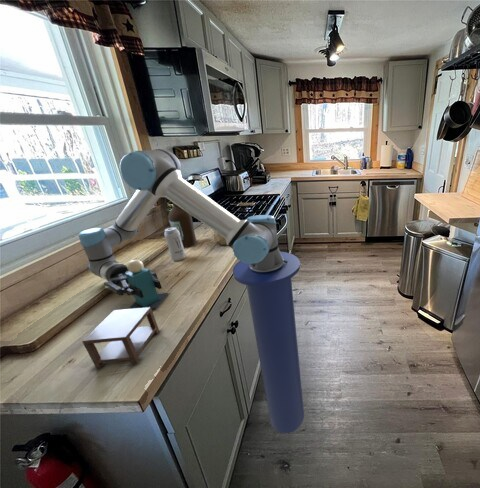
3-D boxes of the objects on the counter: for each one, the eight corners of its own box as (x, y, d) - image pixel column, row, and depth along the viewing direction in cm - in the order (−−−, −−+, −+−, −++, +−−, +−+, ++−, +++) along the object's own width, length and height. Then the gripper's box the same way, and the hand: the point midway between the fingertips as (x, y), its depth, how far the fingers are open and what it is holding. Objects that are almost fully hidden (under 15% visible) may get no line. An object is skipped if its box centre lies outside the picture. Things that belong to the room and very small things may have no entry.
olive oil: (187, 239, 146) (176, 195, 136) (202, 241, 143) (191, 196, 133) (171, 246, 137) (158, 200, 127) (186, 249, 134) (173, 201, 124)
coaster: (167, 294, 96) (167, 292, 96) (155, 309, 88) (155, 308, 87) (142, 296, 95) (141, 295, 95) (127, 311, 87) (127, 310, 87)
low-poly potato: (227, 249, 133) (243, 234, 137) (211, 234, 128) (228, 218, 133) (219, 248, 144) (234, 234, 149) (204, 234, 140) (220, 220, 144)
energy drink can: (180, 261, 121) (171, 231, 115) (169, 260, 122) (160, 231, 116) (188, 256, 126) (181, 227, 120) (178, 255, 127) (169, 226, 121)
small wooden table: (159, 331, 78) (150, 306, 74) (137, 363, 67) (125, 337, 63) (124, 334, 77) (113, 310, 73) (96, 368, 66) (81, 341, 62)
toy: (151, 295, 94) (137, 255, 88) (159, 299, 92) (145, 258, 85) (136, 303, 90) (120, 262, 84) (144, 307, 88) (128, 265, 81)
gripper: (145, 271, 106) (179, 285, 95) (91, 294, 91) (124, 314, 80) (140, 255, 103) (174, 267, 92) (83, 275, 88) (115, 294, 77)
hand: (150, 289), depth 86 cm, fingers closed on toy, 5 cm apart
